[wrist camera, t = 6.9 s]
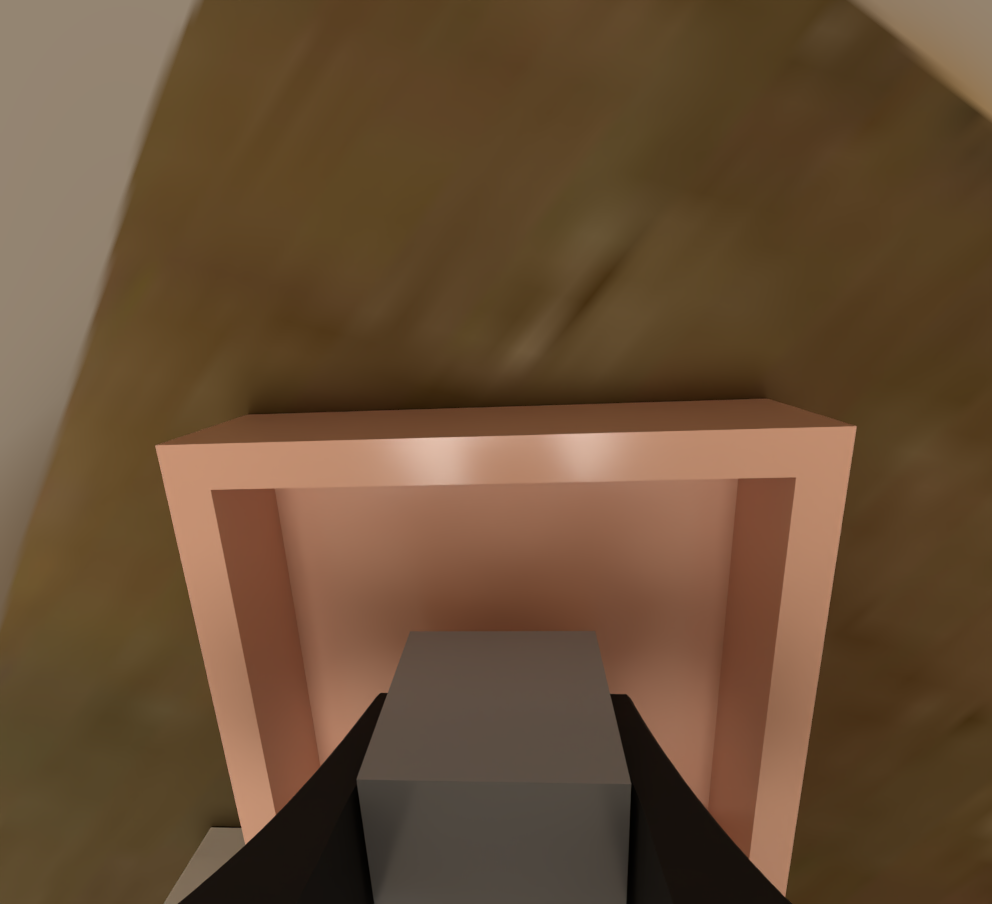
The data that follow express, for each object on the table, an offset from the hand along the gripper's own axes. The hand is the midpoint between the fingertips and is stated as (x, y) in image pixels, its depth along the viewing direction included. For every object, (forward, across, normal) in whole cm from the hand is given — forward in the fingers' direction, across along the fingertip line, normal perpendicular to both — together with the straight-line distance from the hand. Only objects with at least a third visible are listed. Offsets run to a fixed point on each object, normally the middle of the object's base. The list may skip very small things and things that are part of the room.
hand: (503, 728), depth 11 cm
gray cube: (+1, 0, 0) cm, 1 cm away
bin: (+4, 0, 0) cm, 4 cm away
